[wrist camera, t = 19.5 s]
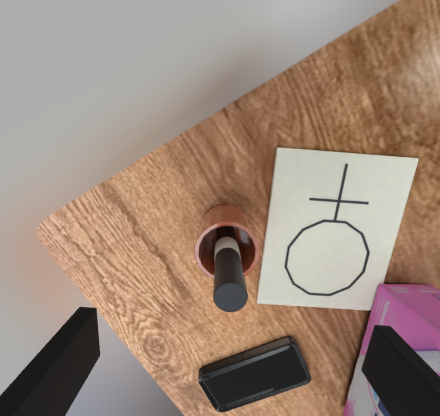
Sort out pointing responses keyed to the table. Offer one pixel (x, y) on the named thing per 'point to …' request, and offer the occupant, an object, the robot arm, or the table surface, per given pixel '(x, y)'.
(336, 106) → the table surface
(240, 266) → the marker
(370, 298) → the notepad
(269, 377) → the phone
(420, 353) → the gum box
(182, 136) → the table surface
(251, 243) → the pen cup
